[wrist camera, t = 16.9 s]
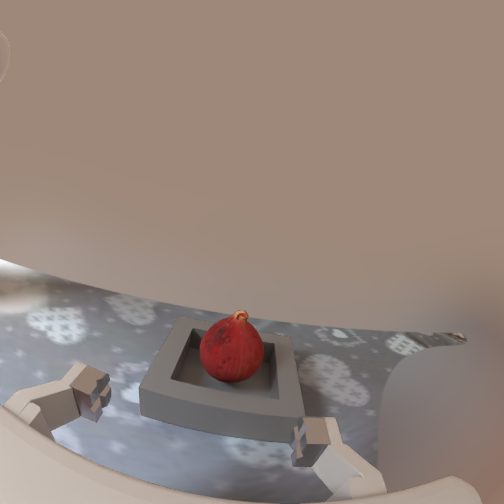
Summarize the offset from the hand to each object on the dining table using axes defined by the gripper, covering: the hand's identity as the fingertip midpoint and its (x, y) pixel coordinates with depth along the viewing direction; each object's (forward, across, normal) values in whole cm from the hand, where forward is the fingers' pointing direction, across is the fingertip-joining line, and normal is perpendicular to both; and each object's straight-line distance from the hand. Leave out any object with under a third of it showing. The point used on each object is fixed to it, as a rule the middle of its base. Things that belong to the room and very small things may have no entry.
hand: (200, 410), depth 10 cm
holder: (+13, -1, +10) cm, 17 cm away
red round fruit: (+13, -1, +10) cm, 17 cm away
